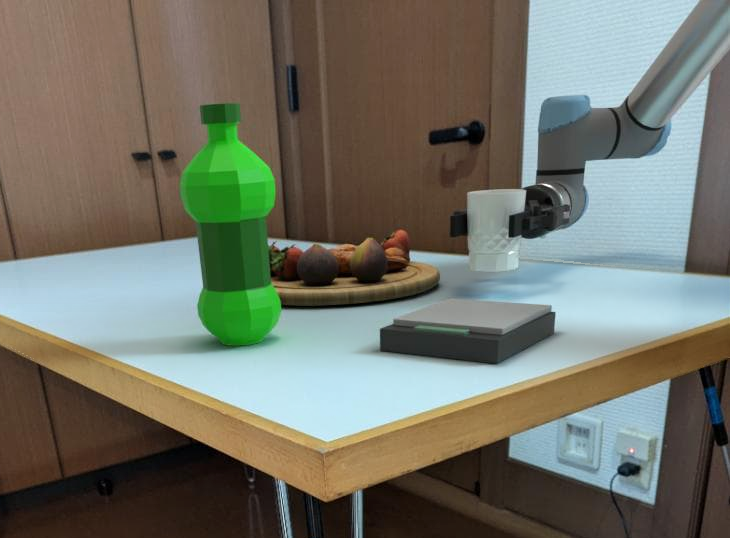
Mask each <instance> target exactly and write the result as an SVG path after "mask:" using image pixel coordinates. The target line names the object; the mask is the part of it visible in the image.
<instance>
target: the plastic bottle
mask: <svg viewBox="0 0 730 538" xmlns="http://www.w3.org/2000/svg"><path fill="white" fill-rule="evenodd" d="M241 111H242V110H241V103H237V102H235V103H233V102H232V103H230V102H229V103H228V102H227V103H210V104H201V105H199V115H200V122H201V123H200V124H201V125H202V126H206V133H207V142H206V143H205V144H204V145H203V146H202V147H201V149H199V151H197V153H196V154H195V156H194V157H193V158H192V159H191V160H190V162H189V163H188V164H187V166H186V167H185V168H184V170H183V171H182V172H181V177H180V181H179V192H180V199H181V202H182V205H183V208H184V211H185V212H186V213H187V214H188V216H190V217H191V219H193V220H194V221H195V227H196V228H195V229H196V238H197V246H198V247H197V248H198V254H199V264H200V272H201V281H202V289H201V290H200V293H199V297H198V301H197V304H196V308H197V315H198V318H199V321H200V322H201V324H202V326H203V327H204V328H205V329H206V330H207V332H209V333H210V334H211V335H213V336H214V337H215V338H216V339H217V340H218V341H220V343H221V344H222V345H224V346H233V347H239V346H250V345H251V346H252V345H254V344H260V343H261V342H263V341H265V337H267V336H268V335H269V334H270V333H271V332H272V330H273V329H274V328H275V327H276V325H277V324H278V322H279V320H280V317H281V313H282V305H281V301H280V298H279V296H278V294H277V292H276V290H275V288H274V287H273V285H272V283H271V275H270V263H269V250H268V245H269V240H268V239H269V238H268V228H267V227H268V226H267V225H268V224H267V217H268V215H269V214H270V212H271V211H272V210H273V208H274V207H275V201H276V193H277V192H276V179H275V177H274V175H273V172H272V170H271V168H270V166H269V165H268V164H267V163H265V161H263V160H262V159H261V158H260V157H259V156H258V155H257V154H256V153H255V152H254V151H252V150H251V149H250V148H249V147H248V146H247V145H245V144H244V143H243V142H242V141H240V140H239V136H238V124H241V123H242V113H241Z"/></svg>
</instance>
